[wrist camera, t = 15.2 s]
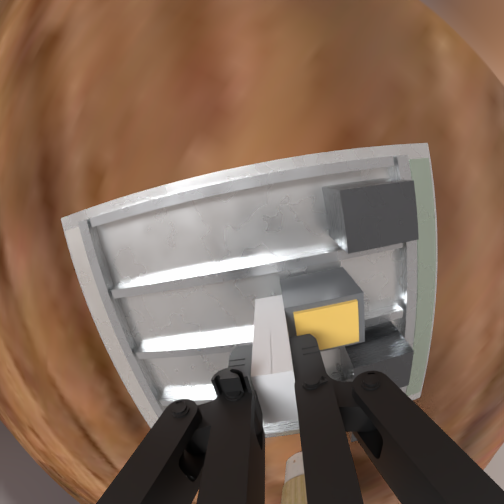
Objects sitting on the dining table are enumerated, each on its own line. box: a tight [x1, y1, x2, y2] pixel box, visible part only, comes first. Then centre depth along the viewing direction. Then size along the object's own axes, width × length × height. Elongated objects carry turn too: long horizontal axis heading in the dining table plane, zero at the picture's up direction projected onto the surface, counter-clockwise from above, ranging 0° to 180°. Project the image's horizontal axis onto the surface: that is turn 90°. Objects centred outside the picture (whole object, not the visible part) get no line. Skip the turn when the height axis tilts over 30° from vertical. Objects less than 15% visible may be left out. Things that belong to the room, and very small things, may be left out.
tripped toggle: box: [280, 267, 365, 352], centre depth 15 cm, size 4×3×4 cm
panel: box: [61, 143, 437, 442], centre depth 18 cm, size 26×22×6 cm
